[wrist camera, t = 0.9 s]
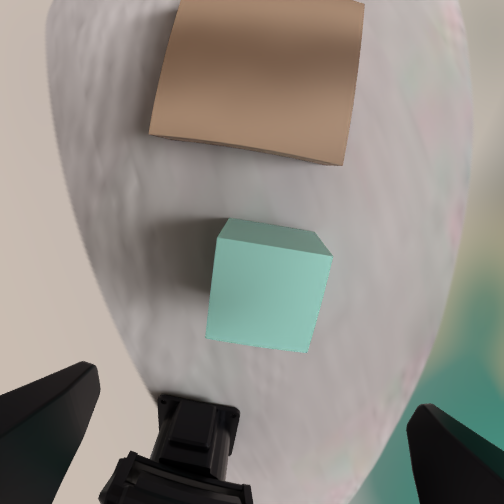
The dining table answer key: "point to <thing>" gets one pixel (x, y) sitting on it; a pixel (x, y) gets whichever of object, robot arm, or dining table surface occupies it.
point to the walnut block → (262, 76)
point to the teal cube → (267, 285)
